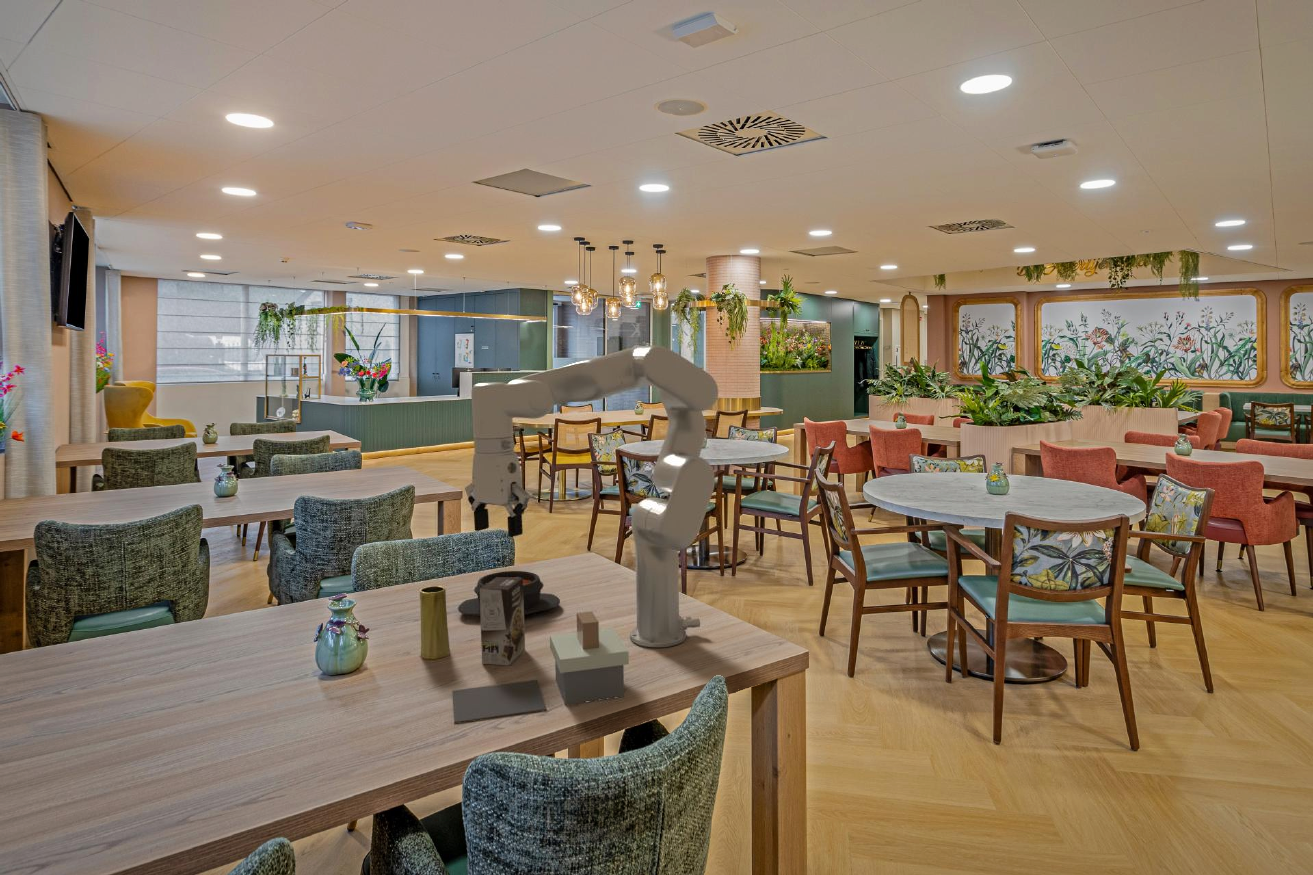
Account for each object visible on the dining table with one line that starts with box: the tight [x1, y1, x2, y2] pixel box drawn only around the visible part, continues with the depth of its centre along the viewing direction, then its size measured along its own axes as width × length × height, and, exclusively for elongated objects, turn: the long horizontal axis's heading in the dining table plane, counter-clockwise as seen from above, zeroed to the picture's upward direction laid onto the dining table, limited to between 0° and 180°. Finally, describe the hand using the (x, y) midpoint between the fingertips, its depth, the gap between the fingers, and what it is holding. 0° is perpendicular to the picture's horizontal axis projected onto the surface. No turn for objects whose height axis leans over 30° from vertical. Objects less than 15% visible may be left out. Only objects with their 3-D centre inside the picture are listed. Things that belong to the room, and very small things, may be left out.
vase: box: [419, 585, 451, 660], centre depth 162 cm, size 6×6×14 cm
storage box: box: [554, 660, 625, 706], centre depth 144 cm, size 11×11×8 cm
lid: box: [549, 611, 630, 673], centre depth 144 cm, size 13×13×8 cm
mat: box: [452, 679, 547, 724], centre depth 140 cm, size 16×13×1 cm
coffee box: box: [479, 577, 526, 666], centre depth 160 cm, size 9×6×16 cm
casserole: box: [457, 570, 561, 617], centre depth 189 cm, size 25×19×8 cm
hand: (498, 532), depth 149 cm, fingers open, 9 cm apart
